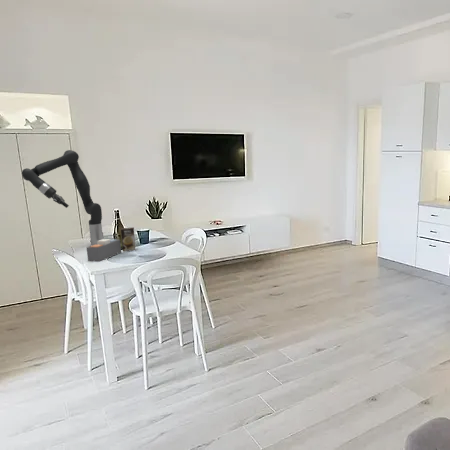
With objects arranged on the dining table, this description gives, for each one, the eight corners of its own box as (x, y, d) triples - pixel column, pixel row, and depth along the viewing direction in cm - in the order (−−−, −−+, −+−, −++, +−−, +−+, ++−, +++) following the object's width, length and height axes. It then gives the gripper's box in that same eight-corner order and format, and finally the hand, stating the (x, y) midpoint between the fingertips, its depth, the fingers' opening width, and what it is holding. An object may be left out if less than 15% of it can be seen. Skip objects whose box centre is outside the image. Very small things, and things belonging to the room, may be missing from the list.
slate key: (110, 243, 277) (109, 239, 276) (117, 243, 275) (116, 239, 274) (105, 245, 271) (104, 241, 271) (112, 245, 269) (111, 241, 269)
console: (110, 251, 280) (109, 239, 278) (121, 252, 277) (120, 239, 275) (88, 260, 257) (86, 247, 255) (99, 261, 254) (98, 248, 252)
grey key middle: (103, 243, 269) (102, 239, 269) (110, 243, 267) (109, 239, 267) (97, 245, 264) (97, 241, 263) (105, 245, 262) (104, 241, 261)
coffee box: (122, 251, 278) (120, 229, 276) (123, 249, 285) (121, 228, 282) (135, 250, 280) (133, 228, 277) (135, 248, 286) (133, 226, 283)
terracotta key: (96, 248, 262) (95, 244, 262) (103, 249, 260) (103, 244, 260) (90, 250, 256) (89, 246, 256) (97, 251, 255) (97, 246, 254)
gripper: (47, 187, 264) (68, 203, 268) (54, 185, 277) (73, 201, 281) (40, 195, 265) (61, 212, 268) (47, 193, 278) (67, 209, 281)
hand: (67, 206), depth 274 cm, fingers closed
